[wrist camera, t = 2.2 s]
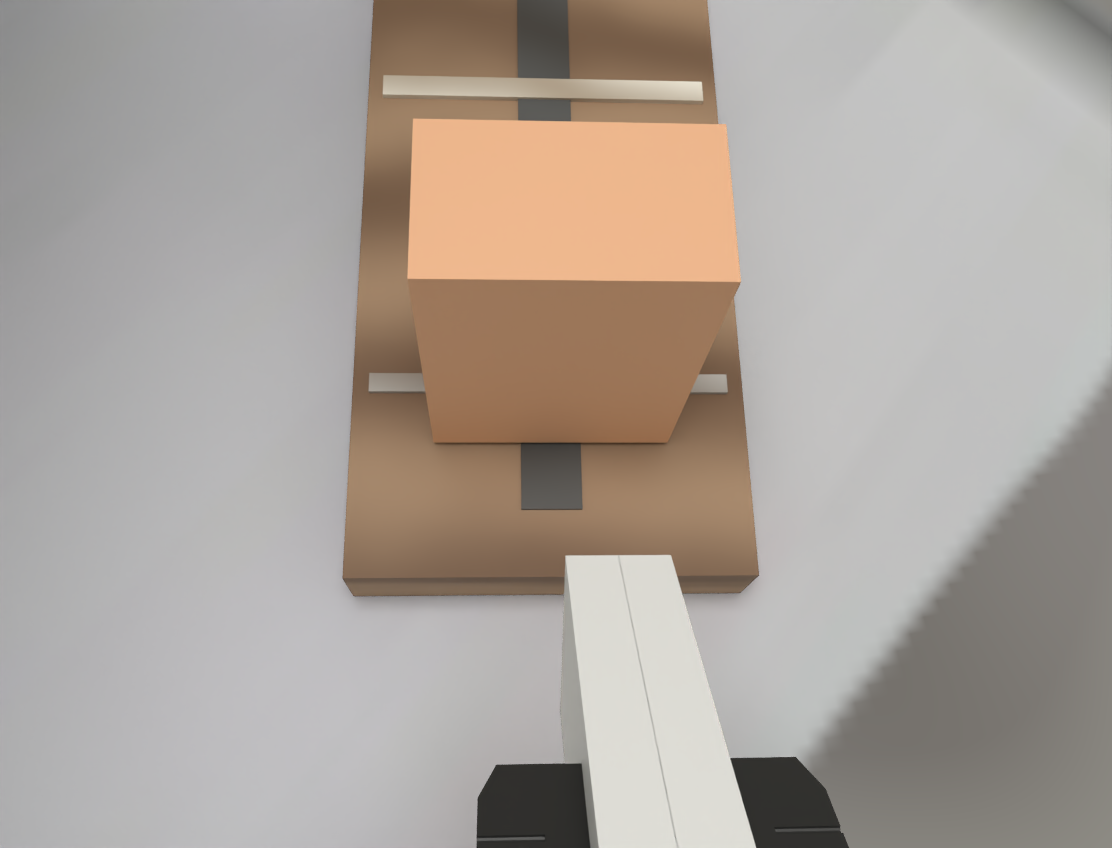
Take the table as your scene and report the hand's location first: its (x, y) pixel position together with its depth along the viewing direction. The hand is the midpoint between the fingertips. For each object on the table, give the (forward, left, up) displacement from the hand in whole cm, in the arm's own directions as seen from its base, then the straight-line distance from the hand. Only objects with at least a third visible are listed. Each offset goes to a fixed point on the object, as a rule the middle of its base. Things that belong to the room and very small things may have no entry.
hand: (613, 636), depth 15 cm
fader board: (-15, +5, -17) cm, 23 cm away
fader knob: (-9, +3, -14) cm, 17 cm away
